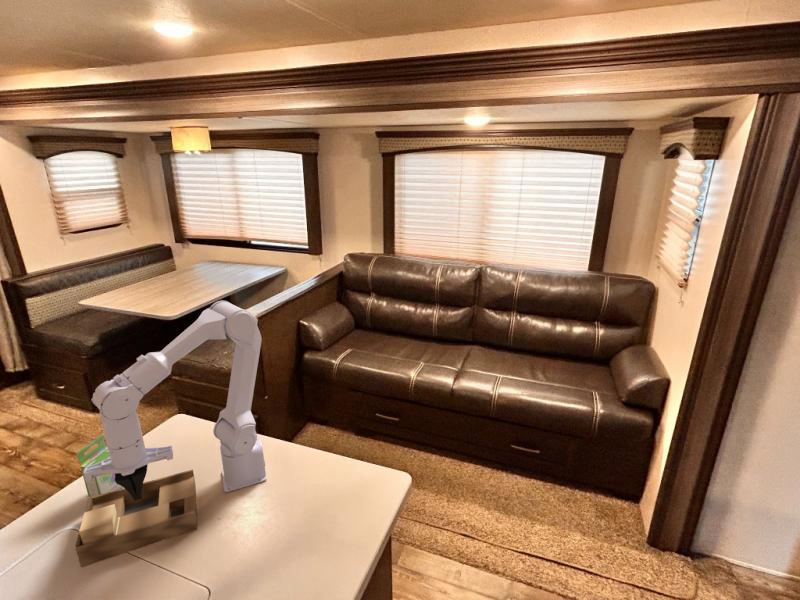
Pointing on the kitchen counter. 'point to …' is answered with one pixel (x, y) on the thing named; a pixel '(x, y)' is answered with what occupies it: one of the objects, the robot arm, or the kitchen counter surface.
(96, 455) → the ink box
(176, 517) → the box
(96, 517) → the maple block
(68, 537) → the kitchen counter surface
